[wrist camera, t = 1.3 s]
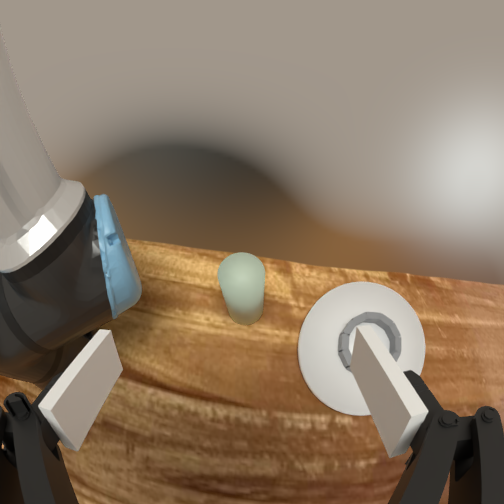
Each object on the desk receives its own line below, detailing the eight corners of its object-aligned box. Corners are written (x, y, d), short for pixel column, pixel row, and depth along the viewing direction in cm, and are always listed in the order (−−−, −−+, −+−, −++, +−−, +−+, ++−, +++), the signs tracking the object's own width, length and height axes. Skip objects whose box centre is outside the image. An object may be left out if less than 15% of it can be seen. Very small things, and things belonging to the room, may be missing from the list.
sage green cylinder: (225, 322, 39) (213, 291, 29) (231, 290, 42) (222, 249, 31) (260, 327, 39) (261, 298, 28) (265, 294, 41) (267, 255, 31)
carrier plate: (288, 412, 33) (291, 413, 30) (304, 277, 43) (307, 268, 40) (418, 412, 31) (429, 411, 28) (418, 290, 41) (428, 282, 38)
